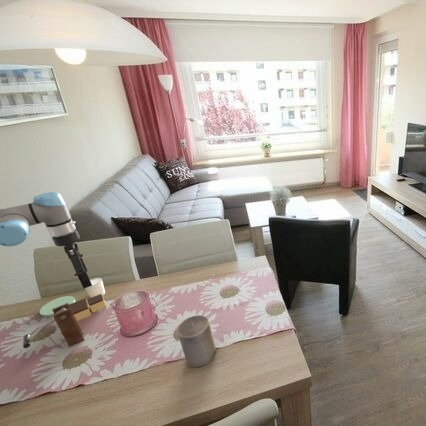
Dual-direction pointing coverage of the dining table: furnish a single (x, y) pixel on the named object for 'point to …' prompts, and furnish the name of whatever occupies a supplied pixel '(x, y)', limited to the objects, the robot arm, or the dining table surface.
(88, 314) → the cake
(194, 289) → the dining table surface
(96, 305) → the cake slice
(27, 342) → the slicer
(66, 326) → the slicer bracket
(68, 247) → the robot arm
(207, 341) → the pillar candle
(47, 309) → the plate
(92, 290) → the white ribbed ramekin
